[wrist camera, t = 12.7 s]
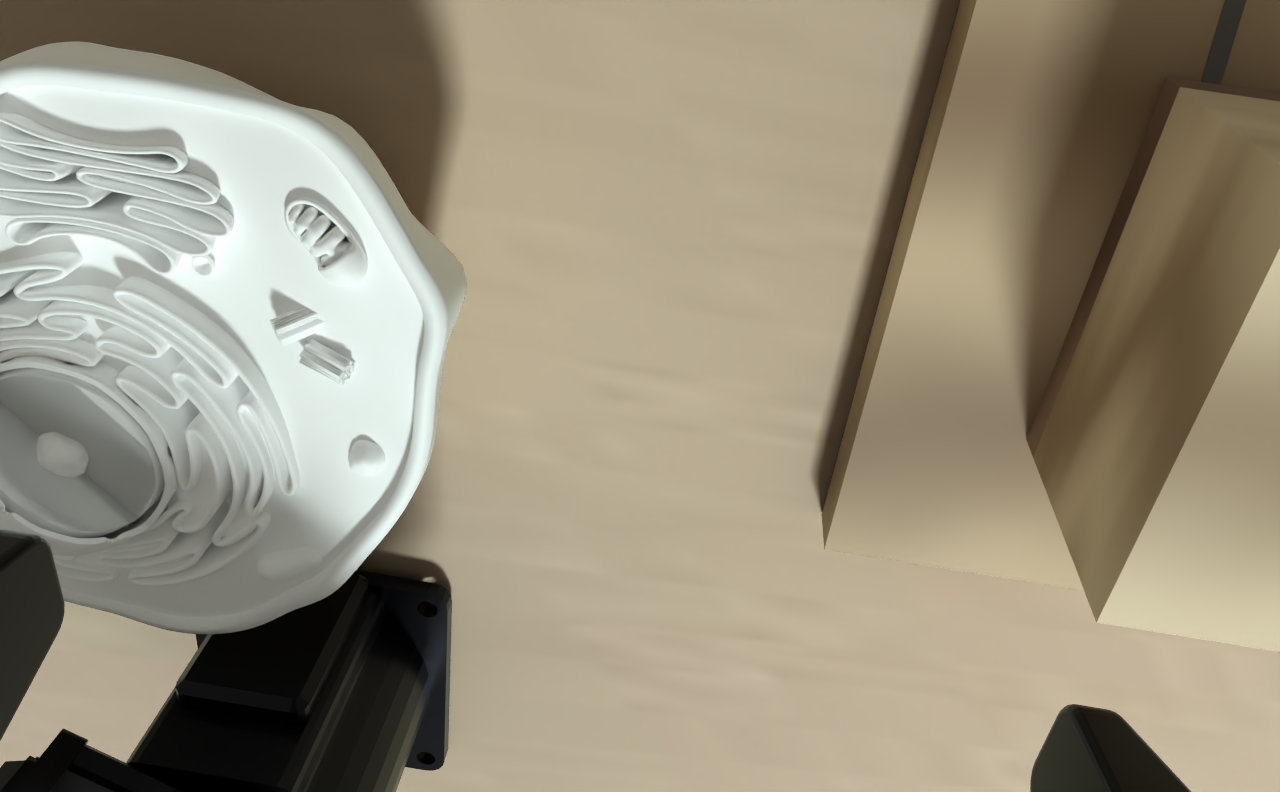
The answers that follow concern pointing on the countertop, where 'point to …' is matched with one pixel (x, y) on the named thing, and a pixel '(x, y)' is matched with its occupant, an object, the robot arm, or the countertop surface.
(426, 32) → the countertop surface
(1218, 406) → the block
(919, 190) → the board
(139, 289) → the cell model
